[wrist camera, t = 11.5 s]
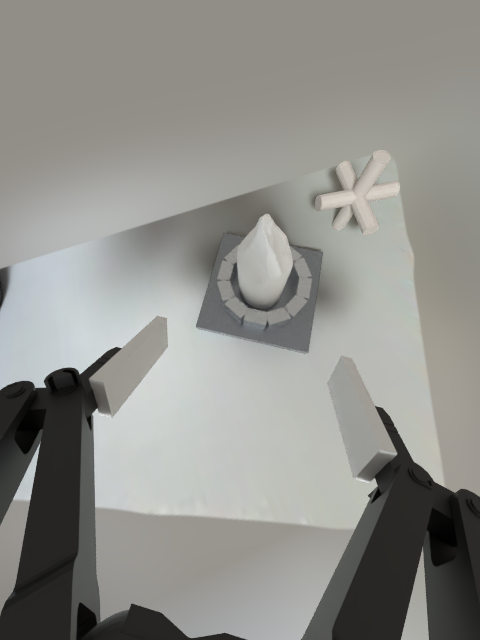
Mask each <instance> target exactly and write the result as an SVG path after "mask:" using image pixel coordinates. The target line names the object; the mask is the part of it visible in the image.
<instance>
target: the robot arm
mask: <svg viewBox="0 0 480 640" xmlns="http://www.w3.org/2000/svg"><path fill="white" fill-rule="evenodd" d="M0 301H1V284H0ZM167 347H168V341H167V318H164V317H159V316H157V317H156V318H155V319H154V320H152V321H151V322H150V323H149V324H148V325H147V326H146V327H145V328H144V329H143V330H142V331H140V332H139V333H138V334H137V335H136V336H135V337H134V338H133V339H132V340H131V341H130V342H128V343H127V344H126V345H125V346H124V347H123V348H118V347H115V348H113V349H111V350H109V351H107V352H106V353H105V354H104V355H102V356H101V358H99V359H98V360H97V361H96V362H94V363H93V364H92V365H91V366H90V367H88V368H87V369H86V370H85V371H84V372H83V373H81V374H80V375H79V372H78V370H77V369H75V368H62V369H59V370H56V371H54V372H52V373H50V374H49V375H48V376H47V377H46V378H45V380H44V383H45V385H46V387H47V388H35V386H34V384H33V383H32V382H30V381H20V382H15V383H13V384H10V385H8V386H6V387H4V388H3V389H1V390H0V524H1V523H2V520H3V518H4V516H5V514H6V512H7V510H8V508H9V506H10V504H11V502H12V500H13V498H14V496H15V493H16V491H17V489H18V487H19V485H20V483H21V481H22V479H23V477H24V475H25V473H26V471H27V468H28V466H29V464H30V462H31V460H32V458H33V456H34V454H35V452H36V450H37V448H38V446H39V443H40V441H41V443H40V449H39V454H38V460H37V466H36V472H35V477H34V483H33V489H32V494H31V500H30V506H29V511H28V517H27V523H26V529H25V534H24V540H23V546H22V551H21V557H20V563H19V568H18V574H17V580H16V584H15V588H14V590H13V593H12V594H11V595H10V596H9V598H8V599H7V600H6V602H5V604H4V607H3V609H2V612H1V616H0V640H246V639H242V638H239V637H236V636H233V635H230V634H227V633H222V634H216V635H210V636H204V637H198V638H189V637H187V636H186V635H185V634H184V633H183V632H182V631H180V630H179V629H178V628H177V627H176V626H175V625H174V624H173V623H172V622H171V621H170V620H168V619H167V618H166V617H165V616H164V615H163V614H162V613H160V612H156V611H154V610H150V609H147V608H144V607H141V606H137V605H135V604H131V607H130V609H129V610H126V611H122V612H119V613H116V614H114V615H112V616H110V617H108V618H107V619H105V620H104V621H102V622H101V623H100V598H99V588H98V582H97V575H96V537H95V487H94V437H93V415H92V413H93V412H94V411H95V410H96V409H97V408H98V411H99V415H103V416H107V417H111V418H113V416H114V415H115V414H116V413H117V411H118V410H119V409H120V407H121V406H122V405H123V404H124V402H125V401H126V400H127V398H128V397H129V396H130V395H131V393H132V392H133V391H134V389H135V388H136V387H137V386H138V384H139V383H140V382H141V380H142V379H143V378H144V377H145V375H146V374H147V373H148V371H149V370H150V369H151V368H152V366H153V365H154V364H155V363H156V361H157V360H158V359H159V357H160V356H161V355H162V354H163V352H164V351H165V350H166V348H167ZM328 387H329V391H330V394H331V398H332V402H333V405H334V409H335V413H336V416H337V420H338V423H339V427H340V431H341V434H342V438H343V442H344V445H345V449H346V453H347V456H348V460H349V464H350V467H351V471H352V474H353V478H354V479H355V480H359V481H363V482H367V483H370V482H371V481H372V480H373V479H374V478H375V479H376V482H377V485H378V487H376V488H375V489H374V490H373V491H372V492H371V493H370V494H369V495H368V496H369V497H370V500H369V502H368V504H367V506H366V508H365V510H364V512H363V515H362V517H361V519H360V521H359V523H358V525H357V527H356V529H355V531H354V533H353V535H352V537H351V539H350V542H349V544H348V545H347V548H346V550H345V552H344V554H343V556H342V558H341V560H340V562H339V564H338V566H337V568H336V570H335V572H334V574H333V576H332V578H331V580H330V582H329V585H328V587H327V589H326V591H325V593H324V595H323V597H322V599H321V601H320V603H319V605H318V607H317V609H316V612H315V613H314V616H313V617H312V620H311V622H310V624H309V626H308V628H307V630H306V632H305V634H304V636H303V638H302V639H301V640H401V636H402V632H403V628H404V623H405V619H406V615H407V610H408V606H409V602H410V598H411V594H412V590H413V585H414V581H415V576H416V573H417V568H418V564H419V560H420V556H421V552H422V547H423V552H424V568H425V583H426V599H427V614H428V630H429V640H480V497H479V496H477V495H476V494H475V493H473V492H470V491H468V490H466V489H460V490H459V491H457V492H456V493H454V492H452V491H450V490H448V489H447V488H445V487H443V486H441V485H439V484H437V483H435V482H434V481H433V479H432V478H431V476H430V475H429V474H428V472H427V471H425V470H424V469H423V468H422V467H421V466H419V465H418V464H416V463H414V461H413V460H412V458H411V456H410V454H409V452H408V450H407V448H406V446H405V444H404V443H403V441H402V439H401V437H400V435H399V434H398V431H397V429H396V427H394V424H393V422H392V420H391V418H390V416H389V415H388V414H387V413H386V412H385V411H384V409H383V408H381V407H376V406H374V404H373V401H372V399H371V397H370V395H369V393H368V391H367V389H366V387H365V385H364V383H363V381H362V378H361V376H360V374H359V372H358V370H357V368H356V366H355V364H354V362H353V360H352V358H348V357H343V356H341V357H340V359H339V361H338V363H337V365H336V367H335V369H334V371H333V373H332V375H331V377H330V379H329V381H328Z"/></svg>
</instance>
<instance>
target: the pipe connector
mask: <svg viewBox="0 0 480 640" xmlns="http://www.w3.org/2000/svg"><path fill="white" fill-rule="evenodd" d="M390 160H391V156H390V155H389V153H388V152H386V151H382V150H378V151H376V152H374V153H373V155H372V157H371V158H370V160H369V162H368V164H367V165H366V167H365V169H364V170H363V172H362V174H361V175H360V177H359V179H357V177H356V175H355V172H354V170H353V168H352V166H351V164H350V162H349V161H344V162H342V163H341V164H339V165H338V167H337V168H336V174H337V176H338V179H339V181H340V183H341V185H342V188H343V190H344V191H338V192H333V193H327V194H322V195H317V197H316V200H315V207H316V210H317V211H323V210H328V209H333V208H339V207H342V208H341V210H340V211H339V213H338V215H337V216H336V218H335V220H334V221H333V223H332V226H333V228H334V229H336V230H342V229H344V227H345V226H346V224H347V223H348V221H349V220H350V218H351V217H352V216H353V214H354V215H355V218H356V220H357V222H358V224H359V227H360V229H361V231H362V234H363V235H369V234H371V233H373V232H375V231H376V230H377V229H378V228H379V224H378V222H377V220H376V218H375V215H374V213H373V211H372V209H371V207H370V205H369V203H368V202H371V201H376V200H382V199H387V198H392V197H395V196H396V195H397V194H398V192H399V188H400V185H399V182H397V181H393V182H387V183H382V184H376V185H374V183H375V182H376V180H377V179H378V178H379V176H380V175H381V173H382V172H383V170H384V169H385V167H386V166H387V164H388V163H389V161H390Z"/></svg>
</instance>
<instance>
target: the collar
mask: <svg viewBox="0 0 480 640" xmlns="http://www.w3.org/2000/svg"><path fill="white" fill-rule="evenodd" d="M244 239H245V237H243V236H238V235H233V234H228V233H224V234H223V237H222V241H221V244H220V247H219V251H218V254H217V257H216V261H215V264H214V267H213V271H212V274H211V277H210V281H209V284H208V288H207V291H206V294H205V298H204V301H203V304H202V308H201V311H200V314H199V318H198V321H197V324H196V327H197V328H198V329H201V330H205V331H210V332H214V333H218V334H223V335H227V336H231V337H236V338H240V339H244V340H249V341H253V342H257V343H262V344H266V345H270V346H275V347H279V348H283V349H288V350H292V351H296V352H301V353H308V350H309V344H310V337H311V330H312V323H313V316H314V310H315V303H316V296H317V289H318V283H319V276H320V269H321V262H322V256H323V252H319V251H314V250H309V249H304V248H299V247H294V246H290V250H291V254H292V259H293V266H292V269H291V272H290V275H289V277H288V279H287V282H286V284H285V287H284V289H283V291H282V294H281V296H280V299H279V300H278V302H277V303H276V304H275V305H273V306H272V307H269V308H266V309H260V308H255V307H253V306H251V305H249V304H248V303H247V302H246V301H245V300H244V299H243V297H242V295H241V292H240V287H239V281H238V268H237V251H238V247H239V245H240V244H241V242H242V241H243V240H244Z"/></svg>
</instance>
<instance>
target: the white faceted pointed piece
mask: <svg viewBox="0 0 480 640" xmlns="http://www.w3.org/2000/svg"><path fill="white" fill-rule="evenodd" d="M292 266H293V259H292V254H291V250H290V246H289V243H288V239H287V236H286V235H285V234H284V233H283V231H282V230H280V228H279V227H278V226H277V225H276V224H275V223H274V220H273V219H272V218H271V216H270V215H269V214H264V216H261V217H260V218H259V221H258V223H257V225H256V227H255V228H253V229H252V230H251V231H250V232H249V234H248V235H247V236H246V237H245V239H244V240H243V241H242V242H241V244H240V245H239V247H238V251H237V268H238V281H239V287H240V292H241V295H242V297H243V299H244V300H245V301H246V302H247V303H248V304H249V305H251V306H253V307H255V308H260V309H266V308H269V307H272V306H273V305H275V304H276V303H277V302H278V300H279V299H280V296H281V294H282V291H283V289H284V287H285V284H286V282H287V279H288V277H289V275H290V272H291V269H292Z"/></svg>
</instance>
